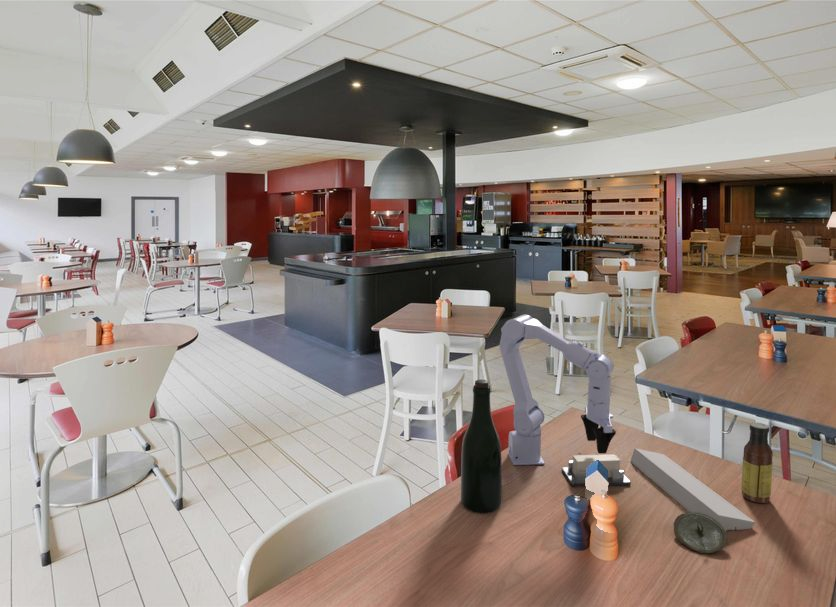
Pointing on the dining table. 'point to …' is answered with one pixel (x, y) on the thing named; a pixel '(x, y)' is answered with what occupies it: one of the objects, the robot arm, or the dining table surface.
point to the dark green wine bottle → (481, 456)
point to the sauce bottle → (757, 465)
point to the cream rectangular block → (585, 460)
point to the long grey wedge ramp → (689, 490)
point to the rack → (579, 480)
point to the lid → (700, 532)
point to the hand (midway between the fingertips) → (596, 446)
